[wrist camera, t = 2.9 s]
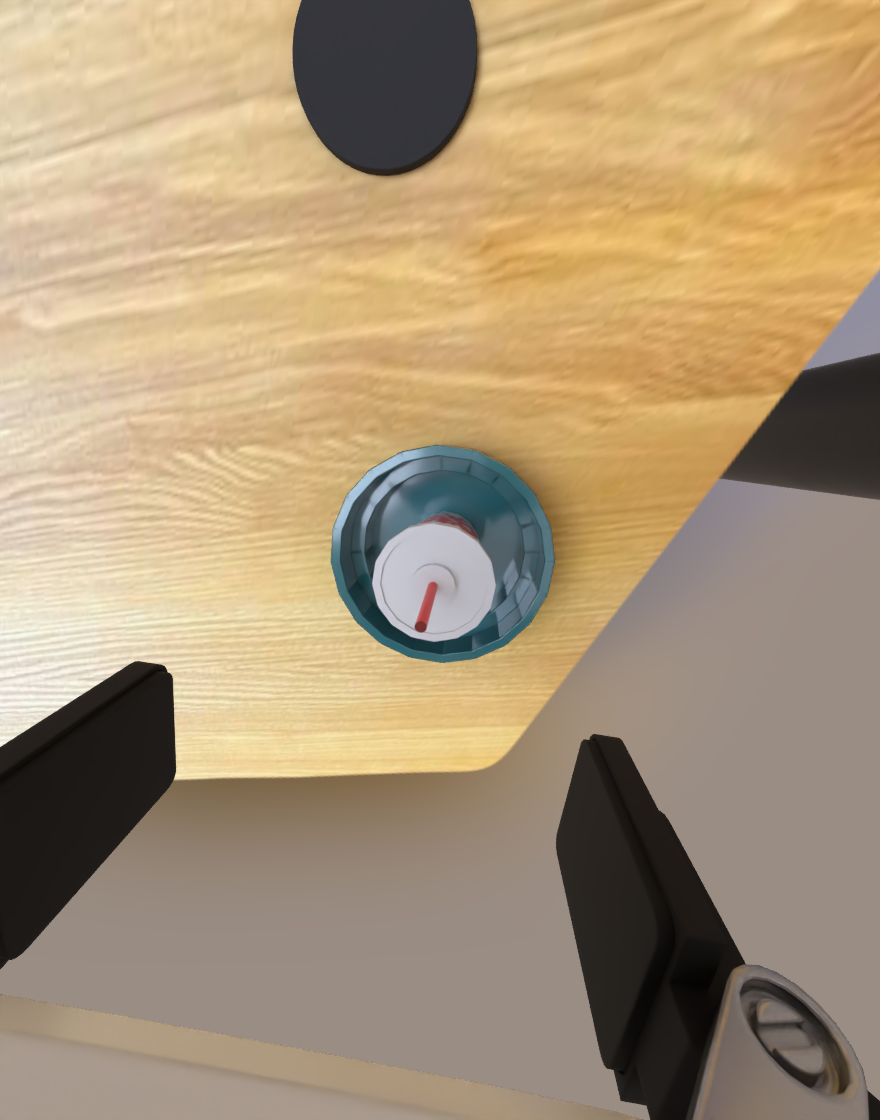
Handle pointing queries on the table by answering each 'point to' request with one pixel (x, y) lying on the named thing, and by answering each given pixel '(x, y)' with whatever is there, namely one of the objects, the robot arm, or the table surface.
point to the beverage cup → (435, 579)
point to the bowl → (458, 487)
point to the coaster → (385, 77)
